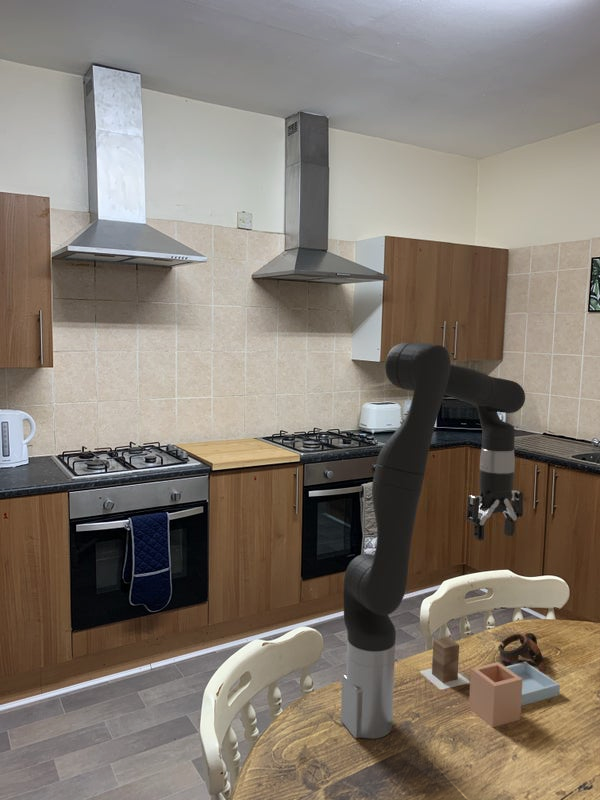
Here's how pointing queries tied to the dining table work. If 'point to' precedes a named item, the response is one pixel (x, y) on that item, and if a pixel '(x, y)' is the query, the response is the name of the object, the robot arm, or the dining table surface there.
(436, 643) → the walnut block
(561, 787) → the dining table surface
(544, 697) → the blue-grey tub
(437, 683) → the ceramic tile
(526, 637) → the dark brown looped piece
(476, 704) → the terracotta pot
